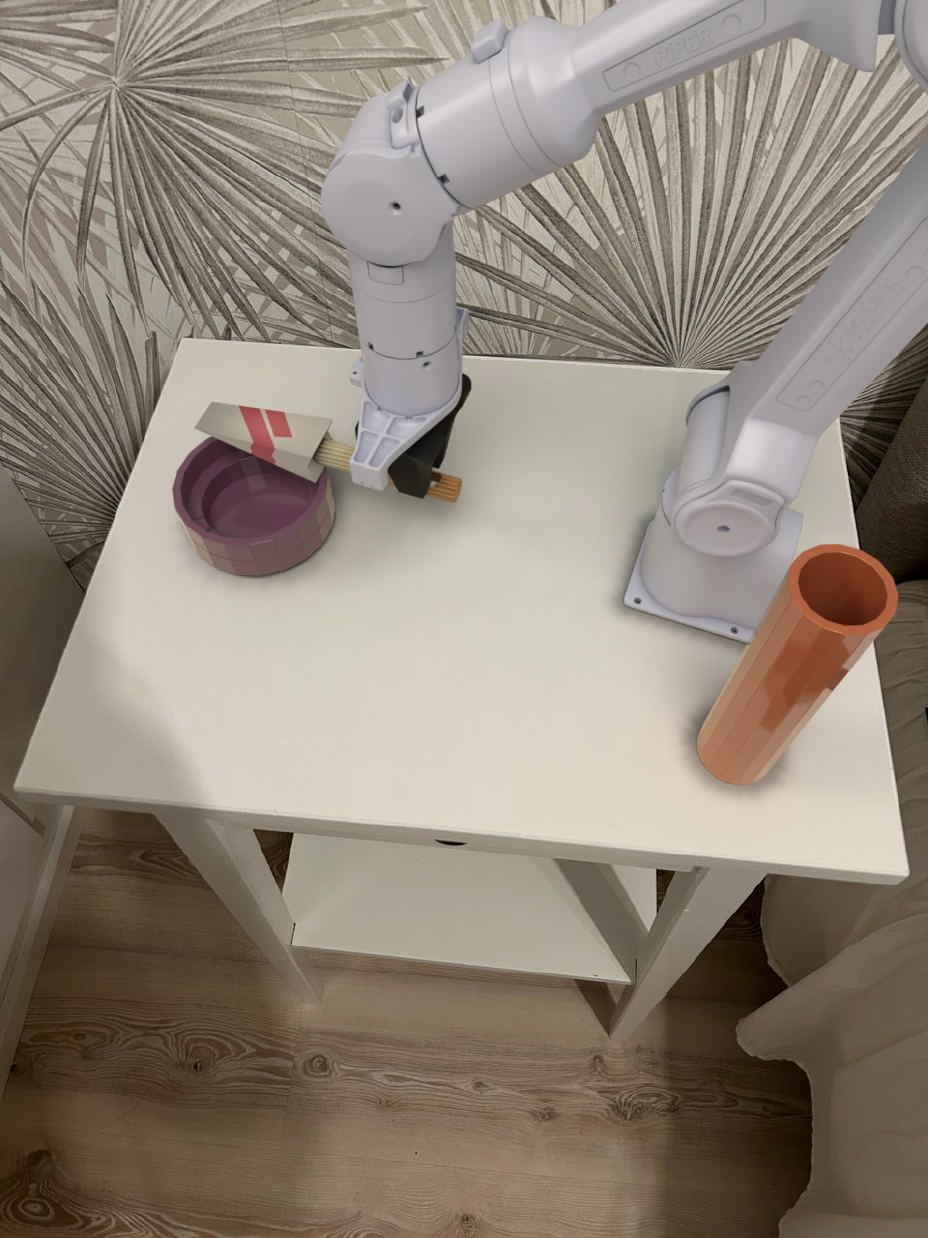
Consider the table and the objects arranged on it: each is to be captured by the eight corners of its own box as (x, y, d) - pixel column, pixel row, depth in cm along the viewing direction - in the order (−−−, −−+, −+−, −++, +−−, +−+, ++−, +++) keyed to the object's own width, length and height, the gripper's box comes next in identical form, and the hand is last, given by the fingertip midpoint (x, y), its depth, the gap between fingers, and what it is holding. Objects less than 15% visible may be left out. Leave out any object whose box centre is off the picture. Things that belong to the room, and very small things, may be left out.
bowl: (359, 484, 70) (352, 446, 67) (296, 598, 65) (284, 564, 61) (233, 447, 73) (219, 407, 69) (162, 554, 67) (143, 518, 63)
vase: (779, 728, 60) (904, 561, 42) (765, 796, 57) (890, 648, 40) (706, 704, 61) (798, 531, 43) (688, 770, 58) (779, 614, 41)
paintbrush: (211, 381, 65) (467, 460, 63) (218, 407, 68) (466, 484, 65) (185, 418, 64) (448, 501, 61) (193, 444, 66) (447, 524, 63)
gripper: (393, 232, 55) (407, 390, 67) (288, 394, 49) (324, 539, 60) (500, 257, 54) (495, 415, 66) (407, 428, 47) (421, 569, 59)
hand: (420, 476), depth 63 cm, fingers closed on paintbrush, 2 cm apart
